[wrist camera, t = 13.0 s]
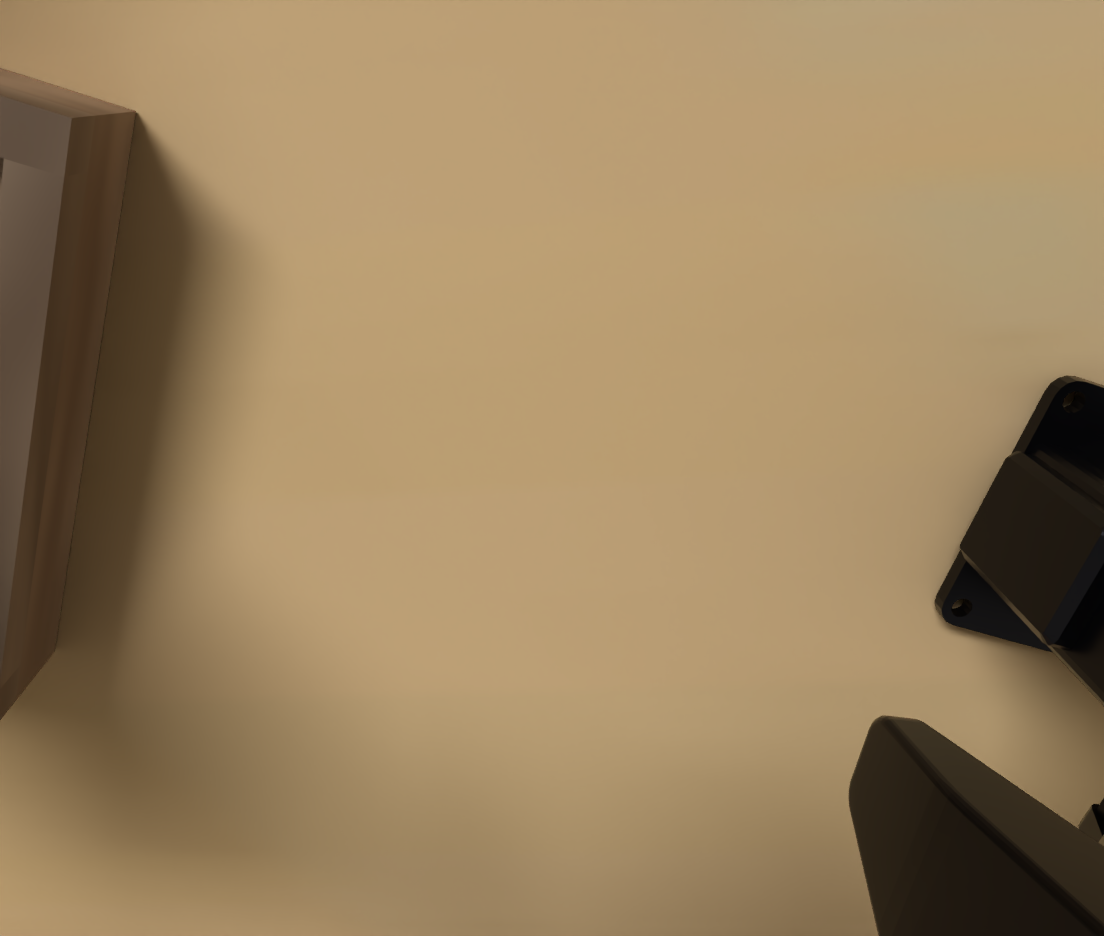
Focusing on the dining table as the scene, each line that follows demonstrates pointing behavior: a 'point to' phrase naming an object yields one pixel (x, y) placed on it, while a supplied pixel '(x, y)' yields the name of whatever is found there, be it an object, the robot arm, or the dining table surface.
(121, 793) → the dining table surface
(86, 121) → the tray
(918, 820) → the robot arm
